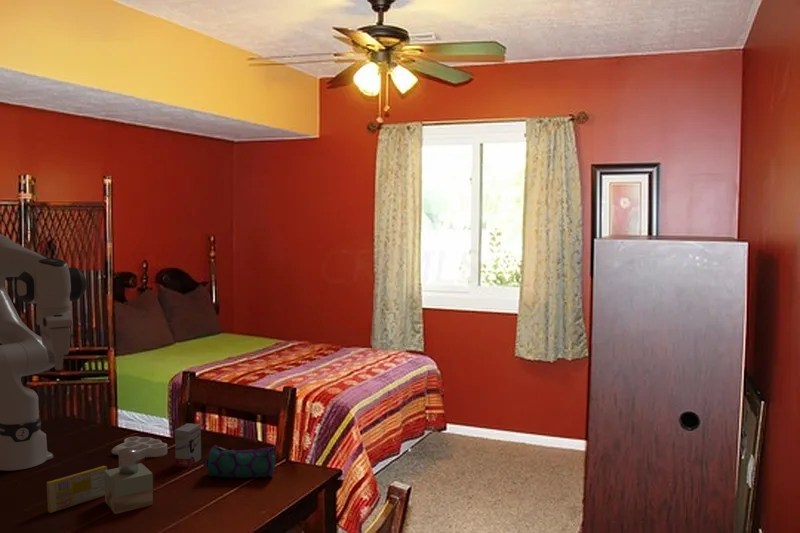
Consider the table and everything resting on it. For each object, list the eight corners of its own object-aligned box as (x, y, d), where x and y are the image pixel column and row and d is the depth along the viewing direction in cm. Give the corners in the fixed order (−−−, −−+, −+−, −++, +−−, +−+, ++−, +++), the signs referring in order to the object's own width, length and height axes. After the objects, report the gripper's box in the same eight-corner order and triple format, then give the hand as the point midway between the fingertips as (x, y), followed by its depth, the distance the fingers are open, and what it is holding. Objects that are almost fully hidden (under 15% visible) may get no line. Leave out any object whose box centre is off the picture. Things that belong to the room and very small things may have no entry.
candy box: (105, 493, 198) (104, 464, 197) (108, 495, 196) (108, 466, 196) (46, 511, 185) (46, 481, 184) (50, 513, 184) (49, 483, 183)
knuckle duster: (105, 454, 230) (141, 442, 243) (141, 464, 221) (177, 451, 234) (105, 444, 230) (141, 433, 243) (141, 454, 221) (177, 441, 234)
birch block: (105, 502, 191) (104, 486, 191) (142, 493, 197) (141, 478, 197) (114, 514, 184) (114, 498, 183) (152, 505, 189) (152, 489, 189)
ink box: (188, 468, 218) (188, 431, 217) (174, 466, 219) (174, 430, 218) (201, 458, 226) (201, 423, 225) (188, 457, 227) (187, 422, 226)
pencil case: (203, 481, 207) (202, 450, 206) (211, 470, 216) (211, 440, 215) (272, 482, 207) (272, 451, 206) (277, 471, 215) (277, 441, 215)
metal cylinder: (116, 471, 190) (115, 450, 190) (134, 467, 194) (134, 446, 193) (122, 476, 187) (122, 455, 186) (141, 472, 190) (140, 451, 189)
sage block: (104, 486, 191) (104, 470, 191) (141, 478, 197) (141, 463, 197) (115, 498, 183) (114, 481, 183) (152, 489, 189) (152, 473, 189)
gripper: (35, 313, 198) (36, 361, 199) (48, 322, 182) (49, 374, 183) (59, 312, 202) (60, 358, 203) (74, 320, 186) (75, 371, 187)
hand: (55, 366), depth 193 cm, fingers open, 8 cm apart
